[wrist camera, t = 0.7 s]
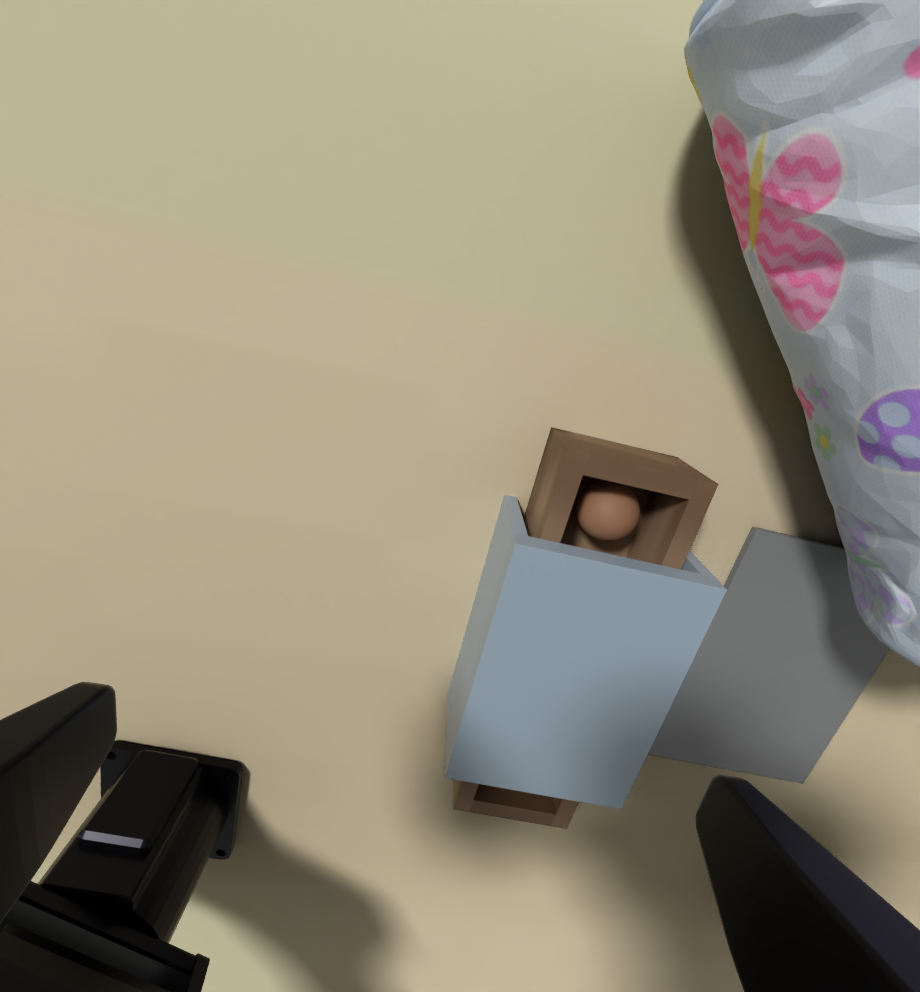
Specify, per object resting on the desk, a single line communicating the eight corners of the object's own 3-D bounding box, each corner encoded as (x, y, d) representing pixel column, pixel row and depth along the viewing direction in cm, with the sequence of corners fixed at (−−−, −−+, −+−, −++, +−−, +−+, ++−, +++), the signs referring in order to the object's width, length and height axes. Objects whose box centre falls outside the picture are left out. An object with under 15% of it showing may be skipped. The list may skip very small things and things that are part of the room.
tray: (553, 765, 24) (566, 828, 21) (454, 746, 24) (453, 809, 21) (677, 457, 19) (718, 484, 16) (551, 427, 18) (568, 449, 15)
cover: (592, 719, 23) (621, 809, 19) (448, 691, 23) (444, 777, 19) (671, 531, 20) (727, 589, 16) (504, 493, 19) (515, 543, 15)
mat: (799, 778, 24) (802, 783, 24) (645, 749, 24) (647, 754, 24) (933, 567, 20) (939, 571, 20) (752, 526, 20) (756, 529, 19)
